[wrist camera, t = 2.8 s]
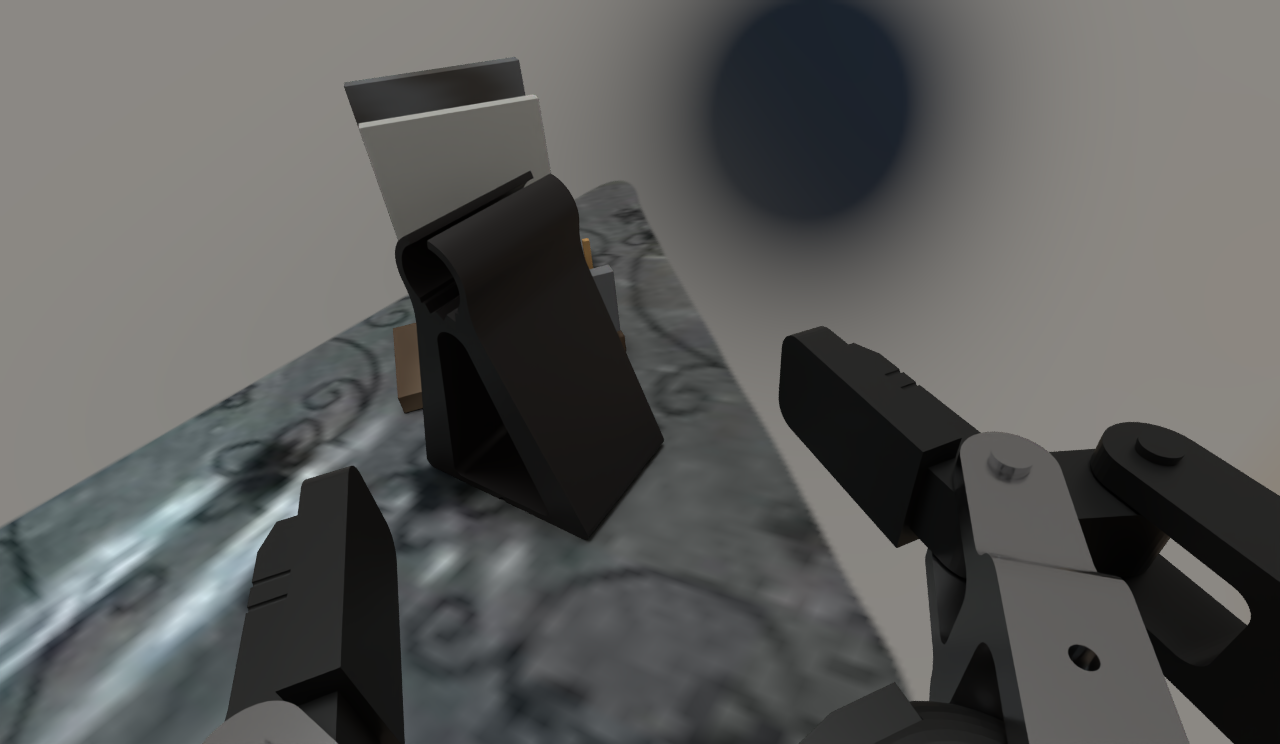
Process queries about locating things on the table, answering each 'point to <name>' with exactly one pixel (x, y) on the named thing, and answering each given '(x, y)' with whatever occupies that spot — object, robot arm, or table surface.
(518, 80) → the grey bookend
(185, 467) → the table surface
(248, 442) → the table surface
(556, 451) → the phone stand
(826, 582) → the table surface
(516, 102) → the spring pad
